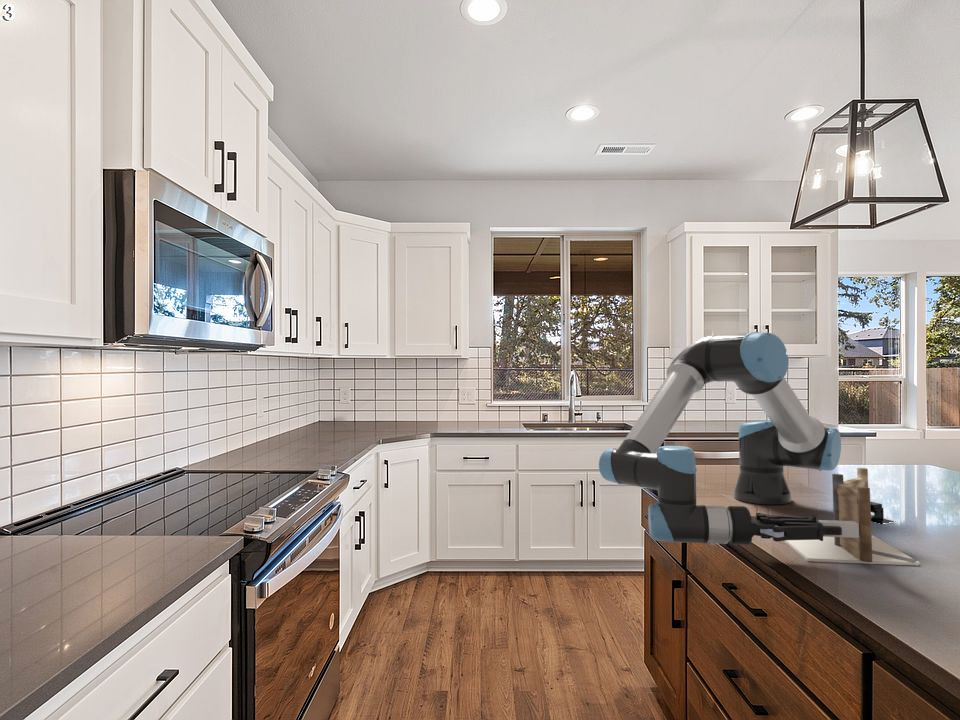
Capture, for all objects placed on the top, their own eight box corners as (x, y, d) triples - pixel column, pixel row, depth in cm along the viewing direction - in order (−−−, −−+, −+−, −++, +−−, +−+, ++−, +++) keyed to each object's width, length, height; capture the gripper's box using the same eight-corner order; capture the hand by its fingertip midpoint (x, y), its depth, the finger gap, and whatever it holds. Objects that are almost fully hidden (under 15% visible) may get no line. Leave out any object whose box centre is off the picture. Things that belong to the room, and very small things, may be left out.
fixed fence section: (843, 547, 120) (840, 475, 121) (832, 544, 122) (830, 474, 122) (871, 535, 128) (869, 468, 129) (861, 533, 130) (859, 467, 130)
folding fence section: (837, 544, 120) (835, 477, 121) (848, 544, 120) (846, 478, 120) (862, 561, 109) (860, 488, 109) (874, 562, 109) (871, 488, 109)
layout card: (771, 530, 135) (771, 528, 135) (865, 533, 132) (865, 530, 132) (807, 561, 113) (807, 558, 113) (921, 566, 110) (921, 562, 110)
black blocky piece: (838, 516, 149) (838, 499, 149) (859, 514, 152) (858, 496, 152) (885, 528, 138) (885, 509, 138) (907, 525, 140) (906, 506, 140)
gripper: (720, 534, 122) (842, 538, 117) (736, 553, 109) (874, 559, 104) (720, 499, 122) (841, 502, 118) (735, 514, 109) (872, 518, 104)
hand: (856, 529), depth 111 cm, fingers closed
